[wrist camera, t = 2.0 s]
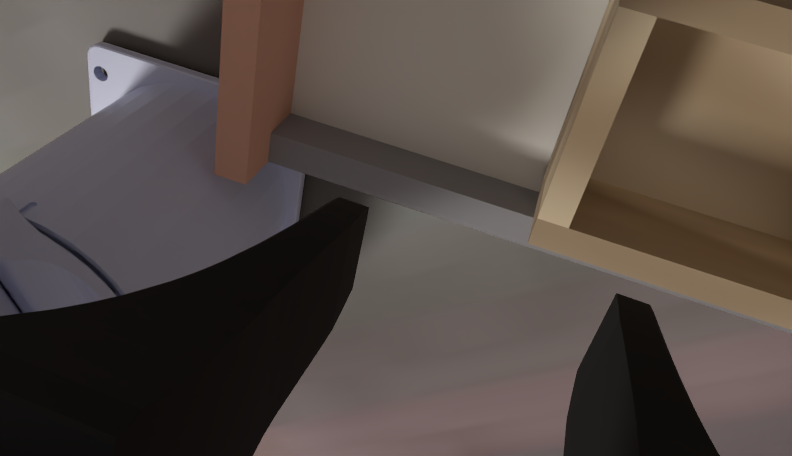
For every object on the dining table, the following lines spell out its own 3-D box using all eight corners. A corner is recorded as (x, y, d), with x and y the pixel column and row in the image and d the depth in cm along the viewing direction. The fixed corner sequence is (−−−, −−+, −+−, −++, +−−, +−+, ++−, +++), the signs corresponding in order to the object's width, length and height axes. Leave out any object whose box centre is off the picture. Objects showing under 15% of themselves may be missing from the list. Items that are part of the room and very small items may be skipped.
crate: (817, 266, 20) (847, 348, 17) (542, 179, 21) (527, 243, 18) (984, 27, 16) (1060, 84, 13) (634, -67, 17) (633, -34, 14)
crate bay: (850, 304, 21) (888, 399, 18) (271, 119, 24) (214, 174, 20) (1105, -27, 16) (1227, 27, 12) (307, -231, 18) (235, -231, 15)
